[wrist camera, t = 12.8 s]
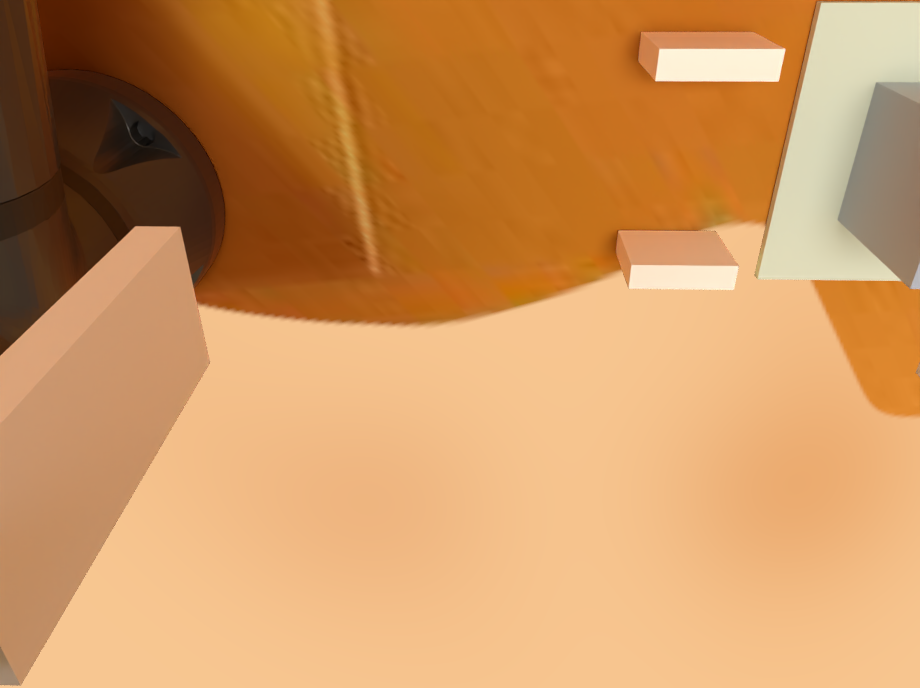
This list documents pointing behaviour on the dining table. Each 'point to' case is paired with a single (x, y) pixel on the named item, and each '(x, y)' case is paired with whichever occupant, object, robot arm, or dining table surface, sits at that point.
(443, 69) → the dining table surface
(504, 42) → the dining table surface
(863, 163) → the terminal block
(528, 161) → the dining table surface
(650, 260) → the white rectangular blocks
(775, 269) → the sage mat
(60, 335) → the robot arm
